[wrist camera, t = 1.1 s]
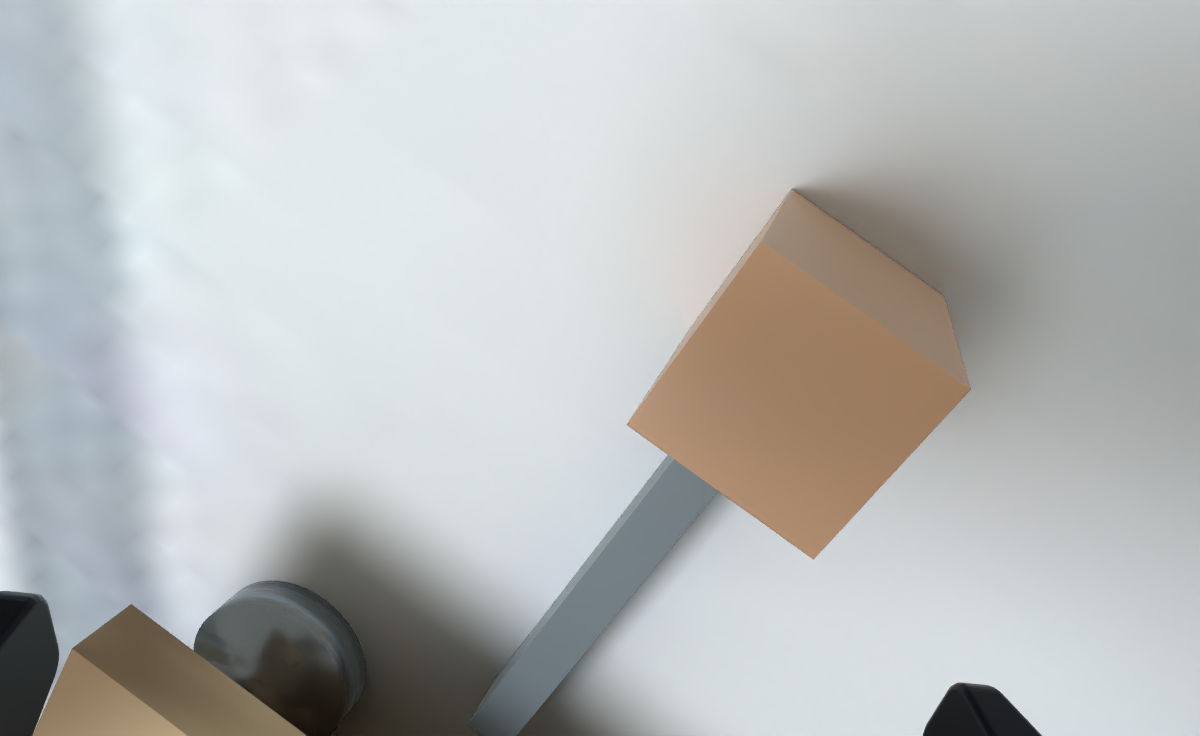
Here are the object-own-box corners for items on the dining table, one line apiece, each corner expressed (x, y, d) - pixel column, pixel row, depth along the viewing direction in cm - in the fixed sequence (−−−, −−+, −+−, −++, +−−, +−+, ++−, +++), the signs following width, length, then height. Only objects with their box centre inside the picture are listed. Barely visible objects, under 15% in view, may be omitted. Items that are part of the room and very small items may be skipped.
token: (396, 645, 28) (369, 678, 26) (329, 743, 30) (301, 779, 28) (263, 546, 28) (229, 573, 26) (205, 649, 30) (171, 680, 28)
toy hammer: (944, 295, 20) (971, 389, 14) (568, 732, 26) (489, 909, 21) (791, 189, 20) (761, 241, 15) (455, 649, 27) (348, 803, 21)
